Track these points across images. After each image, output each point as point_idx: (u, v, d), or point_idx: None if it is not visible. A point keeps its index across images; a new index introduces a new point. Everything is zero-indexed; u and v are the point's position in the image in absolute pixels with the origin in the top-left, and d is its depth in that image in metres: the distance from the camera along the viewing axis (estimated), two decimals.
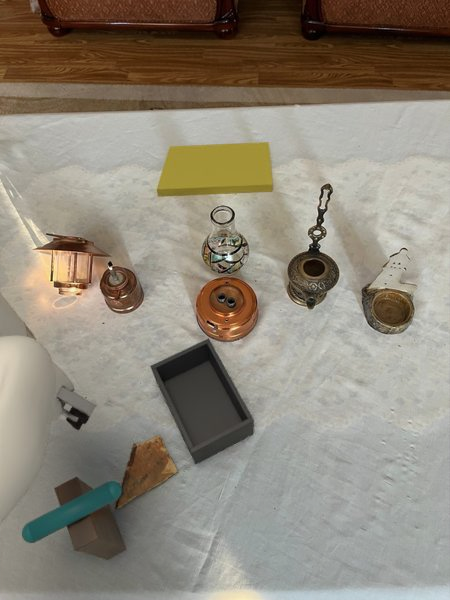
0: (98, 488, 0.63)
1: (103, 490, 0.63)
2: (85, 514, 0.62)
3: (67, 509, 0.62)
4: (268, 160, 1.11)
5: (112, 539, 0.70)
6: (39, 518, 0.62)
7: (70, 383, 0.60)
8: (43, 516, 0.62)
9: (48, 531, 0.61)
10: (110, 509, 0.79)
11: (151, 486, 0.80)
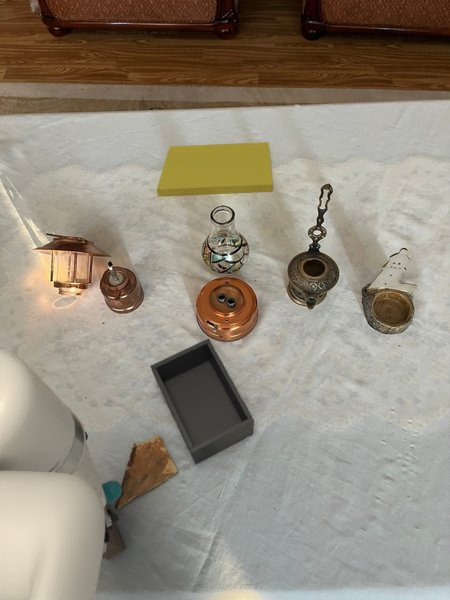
0: None
1: (103, 490, 0.63)
2: None
3: None
4: (268, 160, 1.11)
5: (112, 539, 0.70)
6: None
7: None
8: None
9: None
10: (110, 509, 0.79)
11: (151, 486, 0.80)
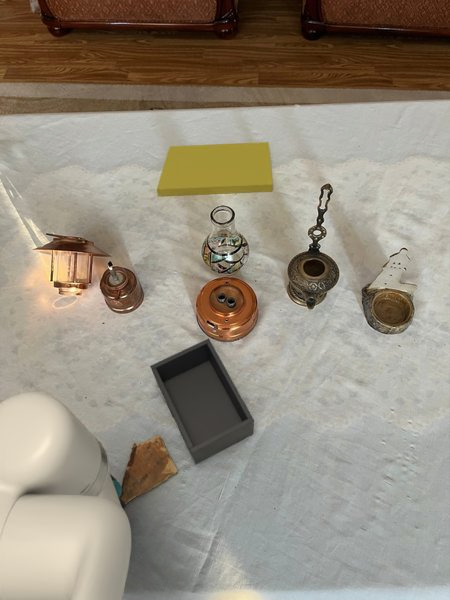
0: None
1: None
2: None
3: None
4: (268, 160, 1.11)
5: None
6: None
7: None
8: None
9: None
10: None
11: (151, 486, 0.80)
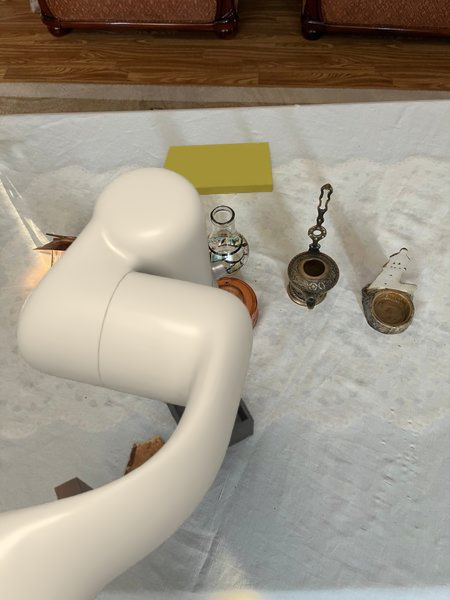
0: None
1: None
2: None
3: None
4: (268, 160, 1.11)
5: None
6: None
7: None
8: None
9: None
10: None
11: None
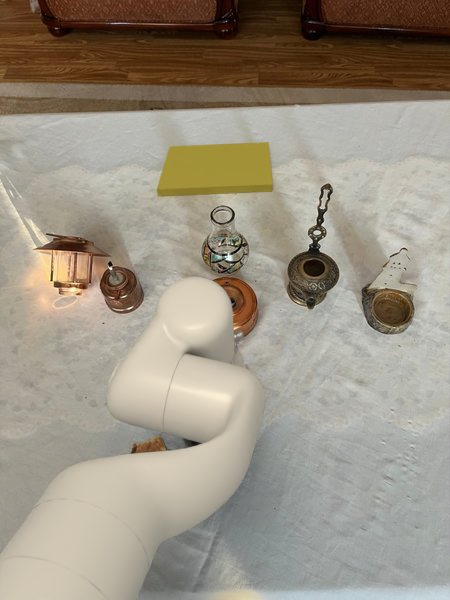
0: None
1: None
2: None
3: None
4: (268, 160, 1.11)
5: None
6: None
7: None
8: None
9: None
10: None
11: None
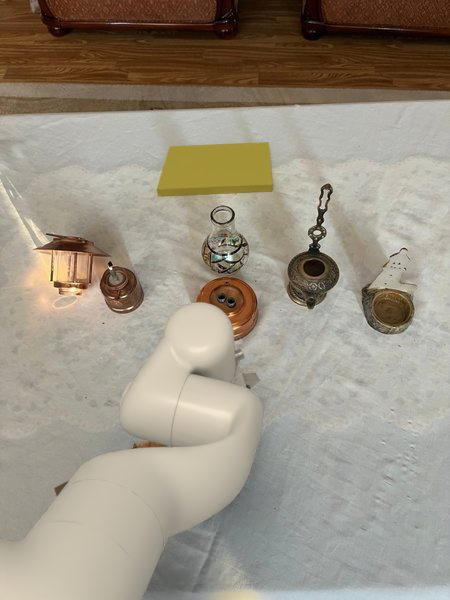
0: None
1: None
2: None
3: None
4: (268, 160, 1.11)
5: None
6: None
7: None
8: None
9: None
10: None
11: None
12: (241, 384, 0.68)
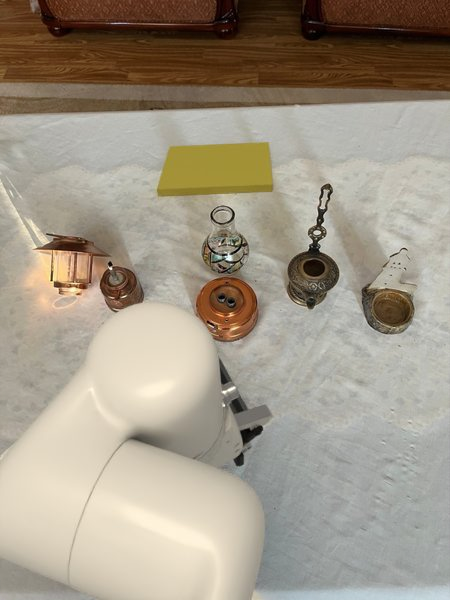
0: None
1: None
2: None
3: None
4: (268, 160, 1.11)
5: None
6: None
7: None
8: None
9: None
10: None
11: None
12: (234, 438, 0.41)
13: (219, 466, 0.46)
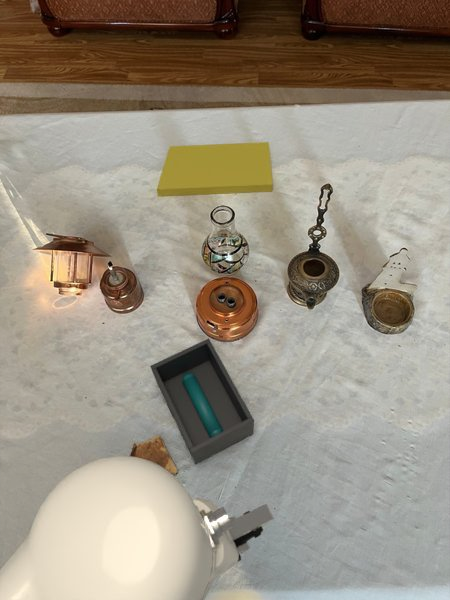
0: (215, 422, 0.83)
1: (213, 426, 0.83)
2: (199, 415, 0.85)
3: (200, 401, 0.85)
4: (268, 160, 1.11)
5: None
6: (195, 383, 0.87)
7: None
8: (197, 385, 0.86)
9: (187, 391, 0.86)
10: None
11: None
12: (227, 564, 0.35)
13: None
